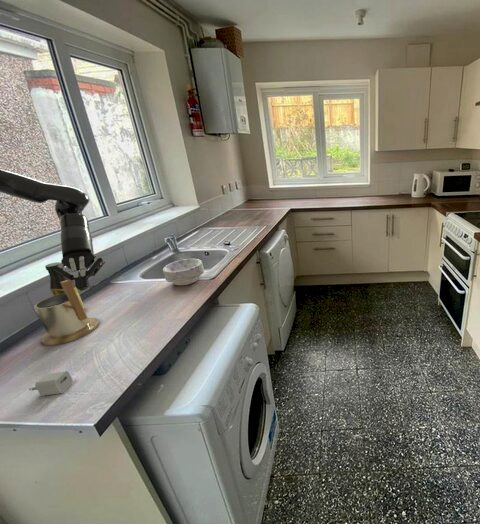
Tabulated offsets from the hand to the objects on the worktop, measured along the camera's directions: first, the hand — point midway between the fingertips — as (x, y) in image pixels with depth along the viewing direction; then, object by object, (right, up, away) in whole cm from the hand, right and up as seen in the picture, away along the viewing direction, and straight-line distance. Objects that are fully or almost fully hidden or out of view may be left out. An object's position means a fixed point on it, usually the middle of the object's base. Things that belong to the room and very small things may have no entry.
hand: (82, 289), depth 90 cm
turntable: (-8, -14, +4) cm, 17 cm away
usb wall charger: (+11, -23, -19) cm, 32 cm away
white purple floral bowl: (+12, 0, +37) cm, 39 cm away
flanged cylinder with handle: (-5, -14, +3) cm, 15 cm away
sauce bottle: (-17, -11, +15) cm, 25 cm away
